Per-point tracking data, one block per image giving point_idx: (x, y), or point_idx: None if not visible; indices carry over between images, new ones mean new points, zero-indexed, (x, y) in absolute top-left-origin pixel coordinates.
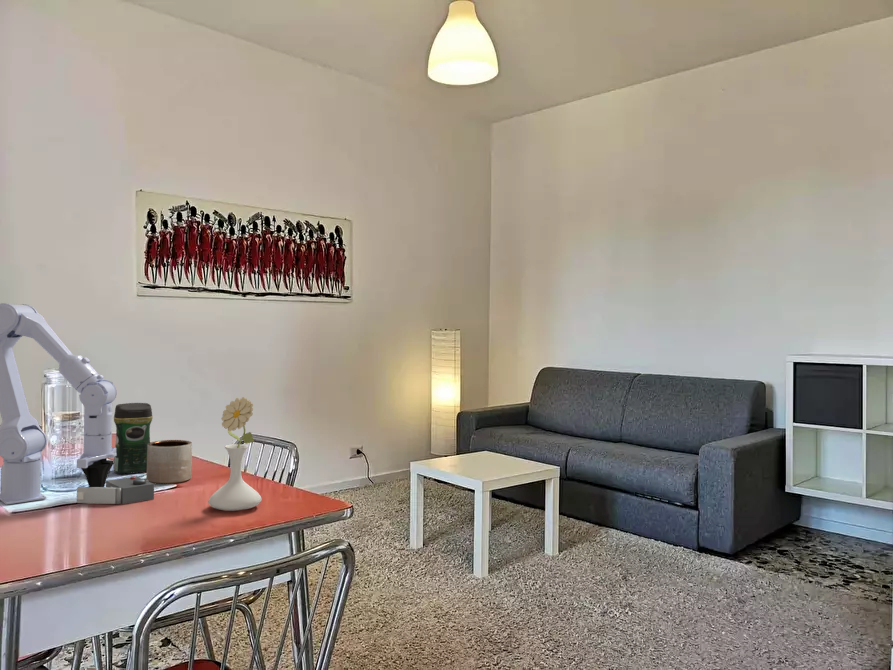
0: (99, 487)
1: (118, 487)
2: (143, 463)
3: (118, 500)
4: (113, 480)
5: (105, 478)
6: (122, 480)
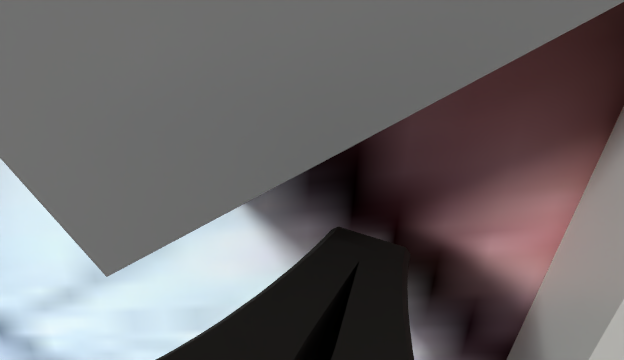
0: (610, 348)
1: (575, 21)
2: None
3: None
4: (78, 189)
5: (266, 339)
6: (47, 57)
